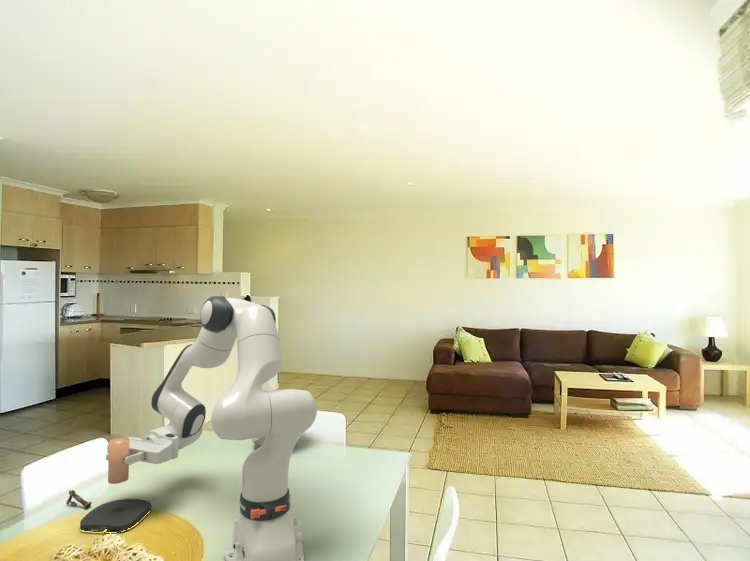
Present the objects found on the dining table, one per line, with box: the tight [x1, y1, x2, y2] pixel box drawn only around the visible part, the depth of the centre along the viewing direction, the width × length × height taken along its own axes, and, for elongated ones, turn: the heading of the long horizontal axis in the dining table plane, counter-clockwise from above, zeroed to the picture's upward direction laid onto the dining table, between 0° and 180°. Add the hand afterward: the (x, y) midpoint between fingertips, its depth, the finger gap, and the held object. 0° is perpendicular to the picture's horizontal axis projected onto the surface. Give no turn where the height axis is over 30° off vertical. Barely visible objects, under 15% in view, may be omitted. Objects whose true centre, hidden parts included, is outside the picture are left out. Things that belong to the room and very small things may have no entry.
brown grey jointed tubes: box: [65, 489, 93, 511], centre depth 130 cm, size 2×8×4 cm, turn 76°
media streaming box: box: [79, 498, 152, 534], centre depth 123 cm, size 15×15×3 cm
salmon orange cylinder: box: [107, 436, 130, 485], centre depth 124 cm, size 5×5×11 cm
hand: (116, 459), depth 123 cm, fingers closed on salmon orange cylinder, 5 cm apart
